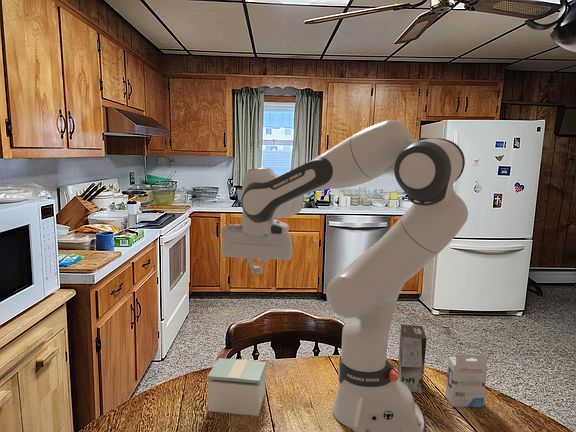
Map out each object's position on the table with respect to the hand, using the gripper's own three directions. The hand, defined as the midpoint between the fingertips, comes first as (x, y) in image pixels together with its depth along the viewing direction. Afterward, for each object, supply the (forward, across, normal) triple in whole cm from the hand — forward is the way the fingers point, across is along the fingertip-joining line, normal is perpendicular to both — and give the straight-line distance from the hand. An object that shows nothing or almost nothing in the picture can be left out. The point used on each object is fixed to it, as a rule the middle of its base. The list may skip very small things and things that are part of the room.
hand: (256, 272), depth 115 cm
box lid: (+23, -2, -14) cm, 27 cm away
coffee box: (+31, +45, +2) cm, 55 cm away
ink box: (+31, +58, -5) cm, 66 cm away
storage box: (+31, -2, -14) cm, 34 cm away
